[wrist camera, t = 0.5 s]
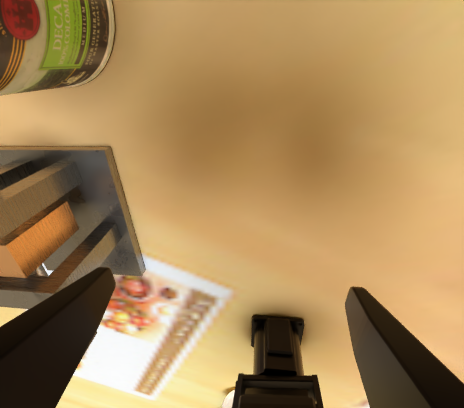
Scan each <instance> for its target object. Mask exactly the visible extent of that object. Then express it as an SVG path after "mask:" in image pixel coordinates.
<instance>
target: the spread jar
mask: <svg viewBox="0 0 464 408" xmlns="http://www.w3.org/2000/svg"><path fill="white" fill-rule="evenodd" d="M234 392H235V390H233V391H231V392H230V393H229V394H228V395H227V396H226V398H225V399H224V401H223V404H222V407H221V408H232V404H233V398H234Z"/></svg>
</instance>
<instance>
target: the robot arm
mask: <svg viewBox="0 0 464 408" xmlns="http://www.w3.org/2000/svg"><path fill="white" fill-rule="evenodd" d="M114 289H115V280H114V277H113V274H112V271H111V269H110V268H109V267H98V268H96V269H94V270H93V271H91V272H89V273H88V274H86V275H84V276H83V277H81V278H80V279H78V280H76V281H75V282H73V283H71V284H70V285H68V286H66V287H65V288H63V289H62V290H60V291H58V292H57V293H55V294H53V295H52V296H50V297H48V298H47V299H45V300H43V301H42V302H40V303H39V304H37V305H35V306H34V307H32V308H30V309H29V310H27V311H25V312H24V313H22V314H21V315H19V316H17V317H16V318H14V319H12V320H11V321H9V322H7V323H6V324H4V325H2V326H1V327H0V408H55V407H56V406H57V404H58V402H59V400H60V398H61V396H62V394H63V393H64V391H65V389H66V387H67V385H68V383H69V381H70V379H71V378H72V376H73V374H74V372H75V370H76V368H77V366H78V364H79V363H80V361H81V359H82V357H83V355H84V353H85V351H86V349H87V348H88V346H89V344H90V342H91V340H92V338H93V336H94V334H95V333H96V331H97V329H98V327H99V325H100V322H101V320H102V318H103V315H104V313H105V311H106V308H107V306H108V303H109V301H110V298H111V296H112V294H113V291H114ZM345 309H346V315H347V320H348V325H349V331H350V336H351V341H352V346H353V351H354V355H355V359H356V362H357V366H358V369H359V372H360V376H361V379H362V382H363V386H364V389H365V392H366V395H367V399H368V402H369V405H370V408H464V383H463V382H461V381H460V380H459V379H458V378H457V377H456V376H455V375H454V374H453V373H452V372H451V371H450V370H449V369H448V368H447V367H446V366H445V365H444V364H443V363H442V362H441V361H440V360H439V359H438V358H436V357H435V356H434V355H433V354H432V353H431V352H430V351H429V350H428V349H427V348H426V347H425V346H424V345H423V344H422V343H421V342H420V341H419V340H418V339H417V338H416V337H415V336H414V335H413V334H411V333H410V332H409V331H408V330H407V329H406V328H405V327H404V326H403V325H402V324H401V323H400V322H399V321H398V320H397V319H396V318H395V317H394V316H393V315H392V314H391V313H390V312H389V311H388V310H387V309H385V308H384V307H383V306H382V305H381V304H380V303H379V302H378V301H377V300H376V299H375V298H374V297H373V296H372V295H371V294H370V293H369V292H368V291H367V290H366V289H364V288H362V287H351V288H350V289H349V292H348V295H347V298H346V302H345ZM303 329H304V320H302V319H296V318H283V317H270V316H256V315H255V316H252V339H251V346H252V347H254V371H253V375H246V374H243V373H239V375H238V381H236V387H235V392H234V398H233V404H232V408H323V403H322V397H321V392H320V387H319V382H318V377H317V375H312V376H304V371H303V364H302V356H301V348H300V345H301V340H302V335H303Z"/></svg>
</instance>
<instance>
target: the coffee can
mask: <svg viewBox="0 0 464 408" xmlns="http://www.w3.org/2000/svg"><path fill="white" fill-rule="evenodd" d="M114 34H115V23H114V11H113V5H112V0H0V95H8V94H15V93H23V92H31V91H37V90H45V89H52V88H60V87H75V86H79V85H83V84H85V83H87V82H89V81H91V80H93V79H94V78H95V77H96V76H97V75H98V74H99V73H100V72H101V71H102V69H103V68H104V67H105V65H106V63H107V61H108V59H109V57H110V54H111V51H112V47H113V42H114Z"/></svg>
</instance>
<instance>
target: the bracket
mask: <svg viewBox="0 0 464 408" xmlns="http://www.w3.org/2000/svg"><path fill="white" fill-rule="evenodd" d="M56 200H60V201H68V203H69V206H70V208H71V210H72V213H73V215H74V217H75V220H76V222H77V224H78V227H79V230H77V231H76V232H75V233H74V234H73V235H72V236H71V237H70V238H69V239H68V240H67V241H66V242H65V243H63V244H62V245H61V246H60V247H59V248H58V249H57V250H56V251H55V252H54V253H53V254H52V255H51V256H50V257H48V258H47V259H46V260H45V261H44V262H43V263H44V265H45V266H46V268H47V270H54V271H53V272H52V273H51V274H50V275H49V276H37V275H29V276H28V277H27V278H18V277H3V276H0V307H11V308H23V309H30V308H32V307H34V306H35V305H37V304H39V303H40V302H42V301H43V300H45V299H47V298H48V297H50V296H52V295H53V294H55V293H57V292H58V291H60V290H62V289H63V288H65V287H66V286H68V285H70V284H71V283H73V282H75V281H76V280H78V279H80V278H81V277H83V276H84V275H86V274H88V273H89V272H91V271H93V270H94V269H96V268H98V267H109V268H110V269H111V271H112V274H118V275H134V276H142V275H143V273H144V272H145V270H146V269H145V266H144V262H143V259H142V255H141V252H140V248H139V245H138V241H137V238H136V234H135V231H134V227H133V224H132V220H131V217H130V213H129V210H128V206H127V203H126V199H125V196H124V192H123V189H122V185H121V182H120V178H119V175H118V171H117V168H116V164H115V161H114V157H113V154H112V150H111V147H61V146H0V239H1V238H2V237H4V236H5V235H7V234H8V233H10V232H11V231H13V230H14V229H15V228H17V227H18V226H20V225H21V224H23V223H24V222H26V221H27V220H29V219H30V218H31V217H33V216H34V215H36V214H37V213H39V212H40V211H42V210H43V209H44V208H46V207H47V206H49V205H50V204H52V203H53V202H55V201H56Z"/></svg>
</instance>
